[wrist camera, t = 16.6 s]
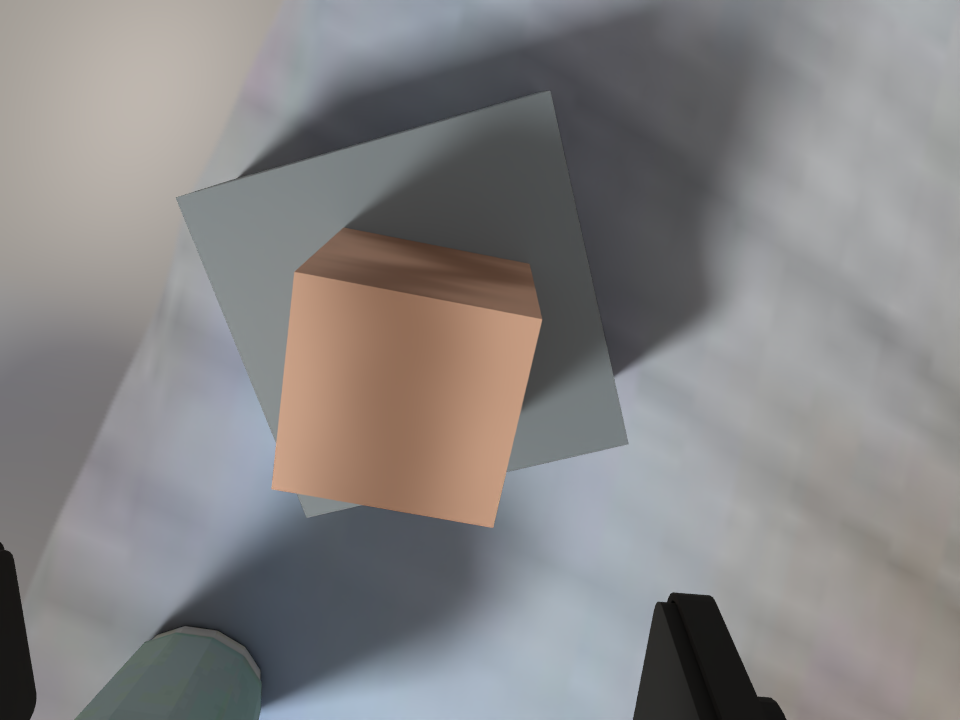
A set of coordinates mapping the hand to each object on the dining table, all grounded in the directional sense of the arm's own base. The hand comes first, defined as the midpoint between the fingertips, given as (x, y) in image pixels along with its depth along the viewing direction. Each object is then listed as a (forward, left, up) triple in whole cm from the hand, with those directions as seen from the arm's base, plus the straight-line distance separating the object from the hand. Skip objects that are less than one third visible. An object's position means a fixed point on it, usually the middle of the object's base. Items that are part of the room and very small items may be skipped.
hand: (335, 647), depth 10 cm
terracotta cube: (0, 0, -14) cm, 14 cm away
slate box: (0, 0, -20) cm, 20 cm away
